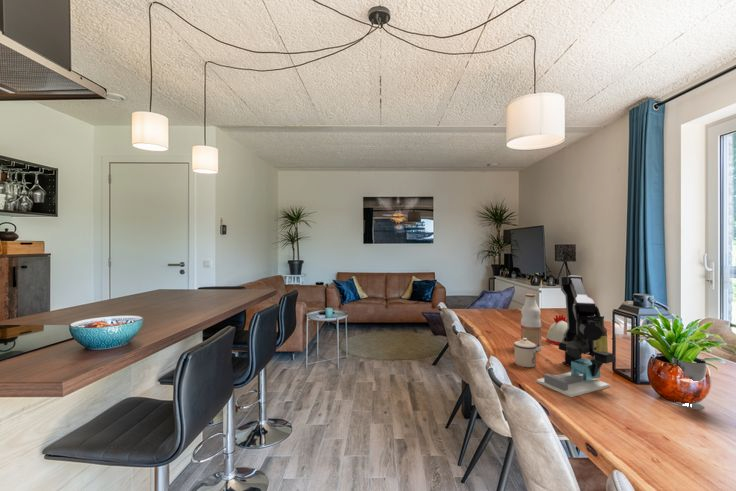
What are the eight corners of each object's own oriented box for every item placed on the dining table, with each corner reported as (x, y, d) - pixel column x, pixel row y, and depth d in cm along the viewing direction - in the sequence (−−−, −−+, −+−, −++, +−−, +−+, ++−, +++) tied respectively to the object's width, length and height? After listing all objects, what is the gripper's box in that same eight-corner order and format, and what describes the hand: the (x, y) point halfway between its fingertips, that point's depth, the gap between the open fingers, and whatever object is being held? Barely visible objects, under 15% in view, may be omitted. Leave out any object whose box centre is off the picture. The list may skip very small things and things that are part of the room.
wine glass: (700, 412, 103) (700, 364, 104) (668, 401, 111) (668, 357, 111) (710, 406, 107) (710, 360, 107) (679, 396, 114) (678, 353, 114)
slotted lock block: (584, 371, 132) (584, 358, 132) (600, 377, 127) (599, 363, 127) (571, 375, 129) (571, 361, 129) (586, 380, 123) (586, 366, 123)
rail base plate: (573, 373, 135) (573, 364, 135) (609, 386, 123) (609, 376, 123) (536, 382, 127) (536, 371, 127) (571, 397, 114) (571, 385, 114)
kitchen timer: (541, 339, 186) (541, 312, 186) (563, 338, 188) (563, 312, 188) (558, 346, 172) (558, 318, 173) (582, 345, 174) (582, 317, 174)
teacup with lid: (537, 369, 141) (537, 342, 141) (514, 366, 144) (513, 339, 144) (535, 360, 152) (535, 335, 152) (514, 357, 155) (513, 333, 155)
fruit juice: (529, 352, 163) (529, 296, 163) (517, 346, 172) (516, 293, 172) (545, 350, 165) (545, 295, 165) (532, 345, 174) (532, 292, 174)
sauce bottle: (594, 353, 160) (593, 313, 160) (609, 357, 155) (609, 315, 155) (589, 356, 156) (589, 314, 156) (605, 360, 151) (604, 317, 151)
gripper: (549, 330, 133) (549, 368, 133) (596, 342, 116) (596, 386, 116) (567, 327, 138) (568, 364, 138) (616, 338, 120) (616, 381, 120)
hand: (585, 373), depth 128 cm, fingers closed on slotted lock block, 6 cm apart
